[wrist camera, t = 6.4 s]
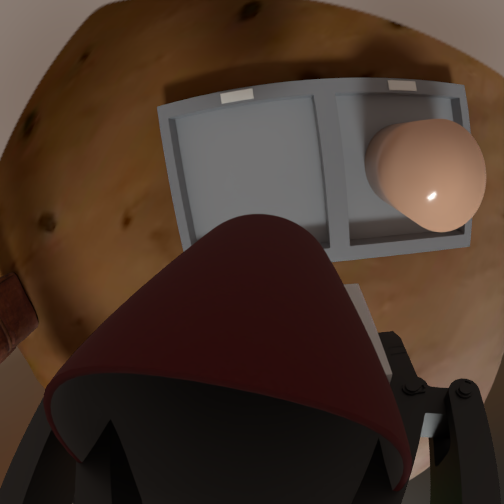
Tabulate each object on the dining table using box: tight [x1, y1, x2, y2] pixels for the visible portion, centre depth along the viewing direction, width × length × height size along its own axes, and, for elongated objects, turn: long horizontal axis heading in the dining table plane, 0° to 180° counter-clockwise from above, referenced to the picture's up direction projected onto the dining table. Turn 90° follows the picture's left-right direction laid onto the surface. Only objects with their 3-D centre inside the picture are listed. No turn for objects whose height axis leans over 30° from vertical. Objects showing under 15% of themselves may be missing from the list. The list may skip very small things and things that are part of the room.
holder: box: [157, 78, 472, 262], centre depth 27 cm, size 32×18×3 cm, turn 98°
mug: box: [43, 214, 412, 504], centre depth 11 cm, size 12×9×11 cm
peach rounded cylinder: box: [365, 119, 486, 232], centre depth 23 cm, size 9×9×9 cm
